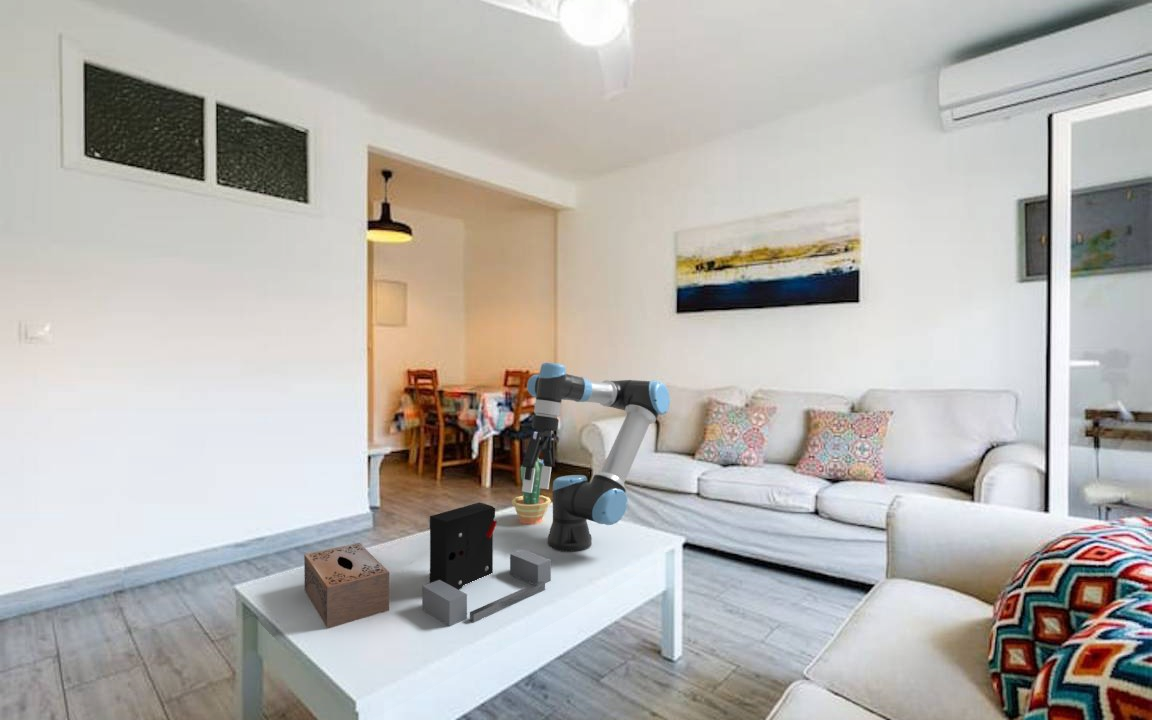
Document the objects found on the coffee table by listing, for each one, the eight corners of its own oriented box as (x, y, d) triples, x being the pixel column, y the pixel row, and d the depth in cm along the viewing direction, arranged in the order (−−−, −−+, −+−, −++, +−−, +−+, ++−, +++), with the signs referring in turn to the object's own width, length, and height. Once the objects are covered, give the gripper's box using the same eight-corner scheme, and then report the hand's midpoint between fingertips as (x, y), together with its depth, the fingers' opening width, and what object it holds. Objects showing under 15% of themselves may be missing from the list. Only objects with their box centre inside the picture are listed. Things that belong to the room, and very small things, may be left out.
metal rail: (541, 587, 144) (541, 580, 144) (545, 589, 143) (545, 582, 143) (469, 620, 127) (469, 612, 127) (473, 622, 126) (473, 614, 126)
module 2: (522, 569, 157) (522, 549, 157) (550, 580, 149) (550, 560, 149) (510, 574, 153) (510, 553, 153) (538, 586, 145) (538, 565, 145)
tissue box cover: (389, 611, 131) (389, 572, 131) (327, 629, 123) (327, 587, 122) (359, 576, 152) (359, 542, 152) (304, 590, 143) (304, 554, 143)
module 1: (439, 602, 136) (439, 579, 136) (466, 618, 127) (466, 594, 127) (422, 609, 132) (422, 585, 132) (449, 626, 124) (449, 601, 124)
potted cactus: (536, 529, 192) (536, 462, 192) (503, 522, 200) (503, 457, 200) (558, 518, 206) (558, 455, 205) (526, 512, 214) (527, 451, 213)
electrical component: (474, 566, 159) (474, 500, 159) (497, 575, 153) (497, 507, 153) (425, 585, 146) (425, 514, 145) (447, 596, 139) (447, 522, 139)
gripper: (548, 417, 164) (538, 485, 161) (517, 411, 140) (505, 491, 137) (571, 420, 162) (561, 489, 159) (543, 414, 138) (532, 496, 135)
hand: (535, 490), depth 148 cm, fingers open, 13 cm apart
